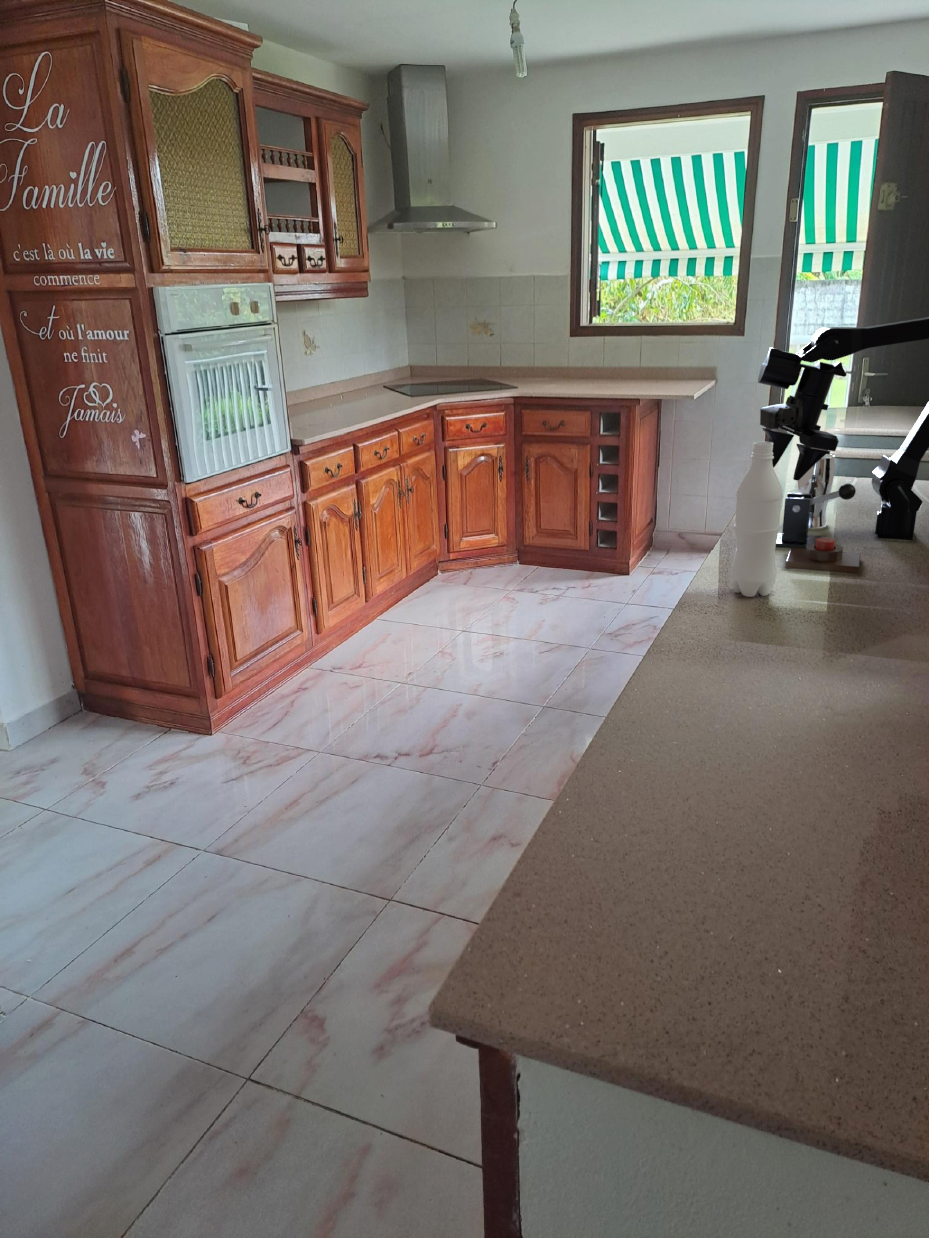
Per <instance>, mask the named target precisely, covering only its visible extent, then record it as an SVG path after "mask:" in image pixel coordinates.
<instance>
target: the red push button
mask: <svg viewBox="0 0 929 1238" xmlns="http://www.w3.org/2000/svg"><path fill="white" fill-rule="evenodd" d="M835 544H836V539H834V538H831V537H826V538H817V539H816V544H815V549H819V550H834V546H835Z"/></svg>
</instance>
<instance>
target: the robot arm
mask: <svg viewBox="0 0 929 1238" xmlns="http://www.w3.org/2000/svg"><path fill="white" fill-rule="evenodd" d="M922 340H923V341H924V340H929V316H926V317H919V318H914V319H908V320H902V321H896V322H888V323H883V324H876V325H871V326H865V327H864V326H862V327H861V326H860V327H859V326H857V327H856V326H855V327H854V326H824V327H821V328H819V329H817V330H816V331H815V333H814V334H813V335H812V337H811V339H810V342H809V343H807V344H806V345H805V346H804V347H802V348H801V349H799V350H798V351H797V352H796V353H793V352H789V351H785V350H781V349H778V348H776V347H772V346H771V347H769V350H768V352H767V354H766V356H765V358H764V361H763V362H762V363H761V366H760V369H759V373H758V378H757V384H760V385H761V384H762V385H766V386H770V387H775V388H778V389H784V390H789V388H790V387H791V386H792V387H793V386H796V385H797V387H796V390H795V392H794V395H789V396H788V397H787V398H786V401H785V403H778V404H777V403H776V404H772V405H769V406H763V407H760V409H759V410H760V411H759V413H760V414H759V415H760V416H759V425H760V426H763V427H762V431H764V433H765V434H766V436H767V438H768V442H772V443H773V450H772V452H773V455H772V456H774V459H772V464H773V469H774V468H775V467H776V466H777V465H778V463H779V462H780V460H781V458H782V457H783V455H784V454H785V452H786V450H787V448H788V446H789V445H790V443H791V442H792V440H793V438H794V437H795V436H797V437H798V440H799V443H796V447H797V450H798V452H799V454H798V457H797V461H796V465H795V469H794V472H793V477H792V480H793V481H796V482H797V481H798V480H800V479H801V478H802V477H803V476H804V475H805V474H806V473H807V472H808V471H809V470H810V469H811V468H812V467H813V466H814V465H815V464H816V463H817V462H818V461H819V460H820V459H821V458H822V457H824V456H825V455H826V454H831V452H836V450H837V448H838V445H839V443H840V441H839V439H838V436H837V435H835V434H834V433H833V434H832V433H831V432H829V431H824V430H821V428H822V426H821V425H819V424H818V422H819V421H820V416H821V414H822V411H827V410H828V409H829V404H826V401H827V397H828V394H829V391H830V389H831V386H832V383H833V380H834V377H835V376H838V377H843V378H845V377H847V375H848V374H847V372H846V371H845V369H844V367H843V362H841V361H837V362H835V363H834V364H831V363H827V362H823V361H820V360H825V361H836V360H838V359H842V358H846V357H848V356H851V355H853V354H856V353H858V352H861V351H863V350H864V351H865V350H867V349H871V348H877V347H878V348H879V347H884V346H891V345H897V344H904V343H910V342H917V341H922ZM802 362H807V363H810V364H811V363H816V364H815V365H809V364H805V363H802ZM801 371H802V372H801ZM797 382H798V384H797ZM928 450H929V401H928V402H927V403H926V405H925V407H924V409H923V410H922V411H921V413H920V415H919V416H918V418H917V419H916V421H915V423H914V424H913V426H912V428H911V430H910V431H909V432H908V434H907V436H906V437H905V439H904V441H903V442H902V444H901V446H900V447H899V449H898V450H897V451H896V452H895V453H893V454H892V455H891V456H890V457H888V456H887V455H886V454H882V456H881V458H880V460H879V462H878V465H877V466H876V467H875V468H874V469H873V470H872V471H871V474H873V476H872V478H871V487H872V489H873V491H874V492H875V493H876V494H877V495H878V496H879V497H880V500H881V502H882V503H881V506H880V507H881V508H880V510H878V511H877V514H876V522H875V529H874V533H875V535H876V537H877V539H885V540H886V539H887V540H902V541H903V540H904V541H914V540H915V527H916V519H917V515H918V514H917V512H918V511H919V510H920V509H921V506H922V504H923V500H922V499H921V498H920V496H918V495H917V494H916V493H915V492H914V491H913V490H912V489H913V487H914V485H915V482H916V479H917V477H918V472H919V468H920V465H921V464H920V463H921V461H922V459H923V458H924V456H925V454H926V453H927V451H928Z"/></svg>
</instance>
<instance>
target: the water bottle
mask: <svg viewBox="0 0 929 1238" xmlns="http://www.w3.org/2000/svg"><path fill="white" fill-rule="evenodd" d="M772 450H773V443H772V442H769V441H754V442H753V445H752V452H751V455H750V460H751V462H750V466H749V468H748V469H747V472H746V473H745V474H744V476H743V477H742V480H741V481H740V483H739V485H738V487H737V490H736V494H735V497H736V502H735V520H734V524H733V529H734V536H735V549H734V551H735V552H734V557H733V560H732V565H731V569H730V583H731V587H732V588H733V591H734V592H735V593H736V594H740V593H741V595H742V596H744V597H747V598H754V597H755V596H756V595H757V593H758V594H760V596H762V597H765V596H768V595H770V593H771V592H772V590H773V588H774V586H775V584H776V580H777V566H776V547H775V546H776V540H777V536H778V533H780V532H779V531H780V529H781V524H780V522H781V512H782V499H783V497H784V493H783V488H782V484H781V482H780V480H779V478H778V475H777V473H776V472H775V469H774V468H773V464H772V459H774V456H772V455H773V452H772Z"/></svg>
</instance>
